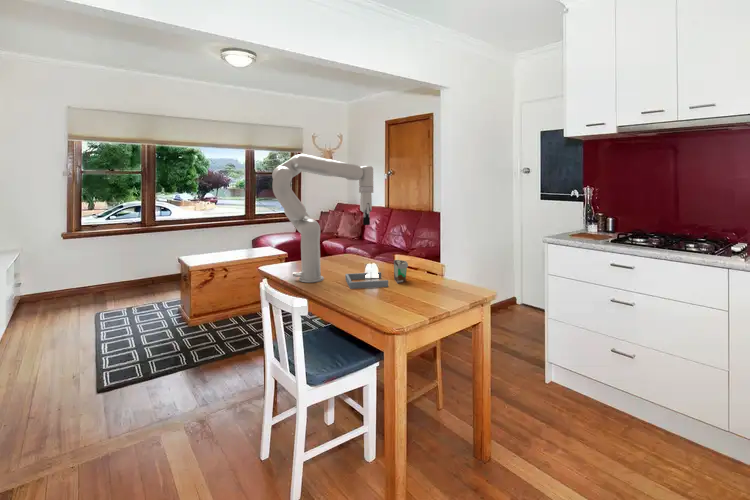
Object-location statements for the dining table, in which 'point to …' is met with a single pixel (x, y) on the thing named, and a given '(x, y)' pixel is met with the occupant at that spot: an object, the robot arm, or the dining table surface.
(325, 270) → the dining table surface
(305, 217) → the robot arm
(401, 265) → the food container
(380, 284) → the low box
